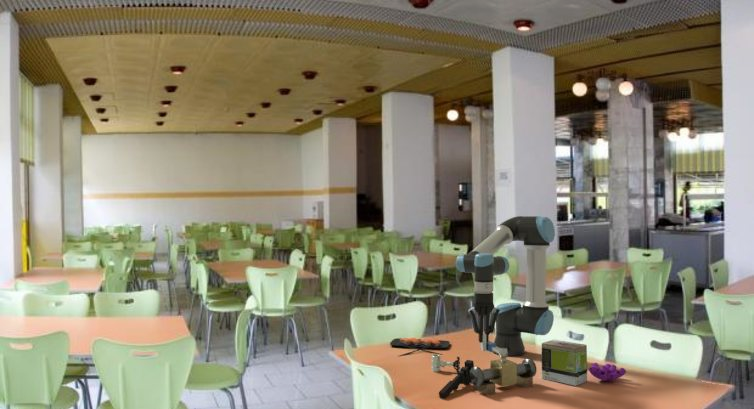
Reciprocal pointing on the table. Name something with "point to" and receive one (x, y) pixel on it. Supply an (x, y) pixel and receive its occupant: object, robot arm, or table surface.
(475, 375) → the pipe run
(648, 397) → the table surface
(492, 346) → the lever
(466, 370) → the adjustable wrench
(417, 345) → the sushi plate
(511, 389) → the table surface
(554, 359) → the tea box
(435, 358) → the valve
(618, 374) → the purple lumpy cluster
